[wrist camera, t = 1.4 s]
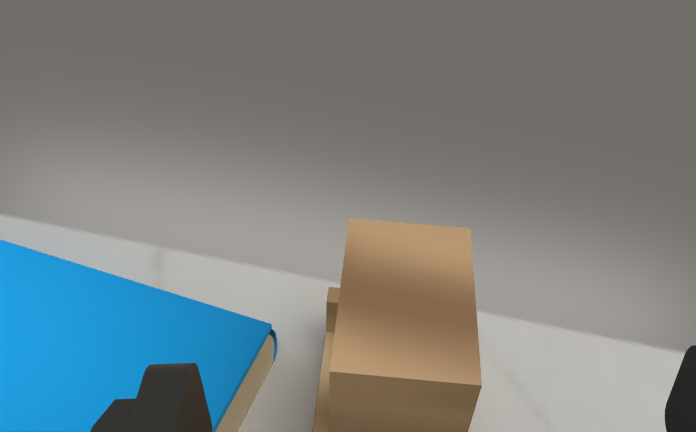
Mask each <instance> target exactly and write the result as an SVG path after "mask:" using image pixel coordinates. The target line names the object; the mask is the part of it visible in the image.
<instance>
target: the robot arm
mask: <svg viewBox="0 0 696 432" xmlns="http://www.w3.org/2000/svg"><path fill="white" fill-rule="evenodd" d="M665 424H666V430H667V432H696V346H691V347H690V348H689V349H688V350H687V351H686V353H685V356H684V358H683V361H682V364H681V366H680V369H679V372H678V374H677V377H676V380H675V383H674V385H673V388H672V391H671V393H670V396H669V399H668V401H667V404H666V408H665ZM90 432H212V422H211V417H210V413H209V409H208V405H207V401H206V397H205V393H204V389H203V385H202V380H201V376H200V372H199V369H198V366H197V364H196V363H174V364H151V365H149V366H148V367H147V368H146V370H145V372H144V375H143V378H142V381H141V384H140V387H139V391H138V394H137V397H136V399H115V400H114V401H113V402H112V403H111V405H110V406H109V407H108V408H107V410H106V411H105V412H104V413H103V414H102V416H101V417H100V418H99V419H98V420H97V422H96V423H95V424H94V425H93V426H92V429H91V431H90Z"/></svg>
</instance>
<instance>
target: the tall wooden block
mask: <svg viewBox="0 0 696 432" xmlns="http://www.w3.org/2000/svg"><path fill="white" fill-rule="evenodd" d="M475 301H476V300H475V288H474V273H473V260H472V246H471V232H470V228H461V227H448V226H436V225H424V224H412V223H400V222H388V221H375V220H363V219H351V218H350V219H349V225H348V232H347V240H346V248H345V256H344V263H343V271H342V279H341V287H340V295H339V302H338V310H337V318H336V326H335V333H334V341H333V349H332V357H331V364H330V377H329V432H468V429H469V426H470V423H471V419H472V416H473V413H474V410H475V406H476V403H477V400H478V396H479V393H480V390H481V386H482V382H481V369H480V355H479V341H478V328H477V314H476V302H475Z"/></svg>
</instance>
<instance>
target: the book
mask: <svg viewBox="0 0 696 432" xmlns="http://www.w3.org/2000/svg"><path fill="white" fill-rule="evenodd" d="M276 348H277V339H276V334H275V332H274V331H273V330H272V327H271V324H269V323H266V322H263V321H259V320H256V319H253V318H250V317H247V316H243V315H240V314H237V313H234V312H230V311H227V310H224V309H221V308H218V307H214V306H211V305H208V304H205V303H202V302H198V301H195V300H192V299H189V298H186V297H182V296H179V295H176V294H173V293H170V292H166V291H163V290H160V289H157V288H153V287H150V286H147V285H144V284H141V283H137V282H134V281H131V280H128V279H125V278H121V277H118V276H115V275H112V274H109V273H105V272H102V271H99V270H96V269H93V268H89V267H86V266H83V265H80V264H77V263H73V262H70V261H67V260H64V259H60V258H57V257H54V256H51V255H48V254H44V253H41V252H38V251H35V250H32V249H28V248H25V247H22V246H19V245H16V244H12V243H9V242H6V241H3V240H0V432H90V431H91V429H92V426H93V425H94V424H95V423H96V422H97V420H98V419H99V418H100V417H101V416H102V414H103V413H104V412H105V411H106V410H107V408H108V407H109V406H110V405H111V403H112V402H113V401H114V400H115V399H136V397H137V394H138V391H139V387H140V384H141V381H142V378H143V375H144V372H145V370H146V368H147V367H148V366H149V365H151V364H174V363H196V364H197V366H198V369H199V372H200V376H201V380H202V385H203V389H204V393H205V397H206V401H207V405H208V409H209V413H210V417H211V422H212V432H237V431H238V429H239V427H240V425H241V423H242V421H243V419H244V418H245V416H246V414H247V412H248V410H249V408H250V406H251V404H252V402H253V401H254V399H255V397H256V395H257V393H258V391H259V389H260V387H261V385H262V383H263V382H264V380H265V378H266V376H267V374H268V372H269V370H270V368H271V366H272V363H273V361H275V356H276Z"/></svg>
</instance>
